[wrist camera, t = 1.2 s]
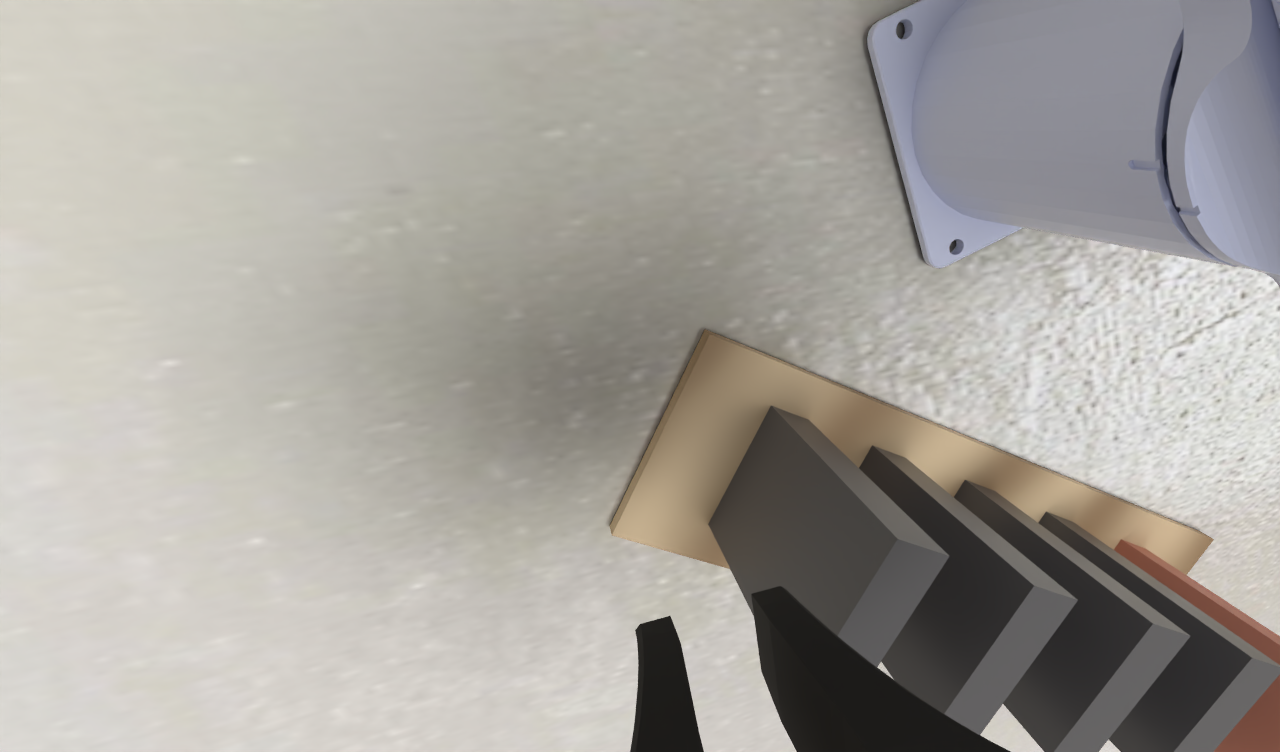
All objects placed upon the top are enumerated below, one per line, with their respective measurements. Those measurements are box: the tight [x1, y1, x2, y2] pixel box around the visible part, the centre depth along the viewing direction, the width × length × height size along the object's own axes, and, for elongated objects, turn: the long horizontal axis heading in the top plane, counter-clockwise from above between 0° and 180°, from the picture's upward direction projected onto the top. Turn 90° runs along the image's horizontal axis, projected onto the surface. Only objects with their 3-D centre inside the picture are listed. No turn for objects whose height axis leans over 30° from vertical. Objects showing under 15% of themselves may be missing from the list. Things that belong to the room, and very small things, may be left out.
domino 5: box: [1114, 539, 1280, 752], centre depth 25 cm, size 2×5×8 cm, turn 155°
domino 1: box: [708, 406, 949, 667], centre depth 20 cm, size 2×5×8 cm, turn 156°
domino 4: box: [1039, 512, 1280, 752], centre depth 24 cm, size 2×5×8 cm, turn 155°
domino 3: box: [954, 480, 1190, 752], centre depth 22 cm, size 2×5×8 cm, turn 155°
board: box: [610, 329, 1214, 575], centre depth 26 cm, size 26×8×1 cm, turn 65°
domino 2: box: [859, 445, 1078, 735], centre depth 21 cm, size 2×5×8 cm, turn 155°
